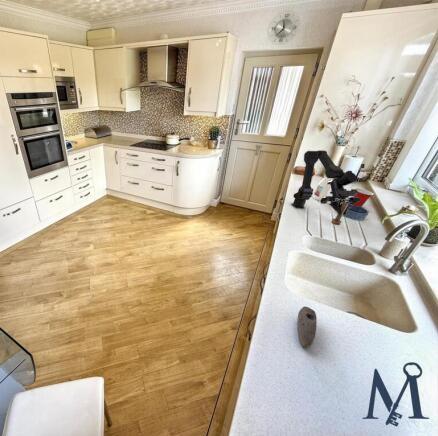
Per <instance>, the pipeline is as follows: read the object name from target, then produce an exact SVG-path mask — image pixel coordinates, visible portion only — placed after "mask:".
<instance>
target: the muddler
mask: <svg viewBox="0 0 438 436" xmlns="http://www.w3.org/2000/svg"><path fill="white" fill-rule="evenodd" d="M347 206H348V203H343V205H342V207H341V215H339V214H338V213H336V217H335V218H332V219H331V221H330V223H331V224H332V225H335V226H341V224H342V222H343V221H342V220H341V219H342V217H343V216H344V215H343V213H344V211H345V210H346V208H347Z"/></svg>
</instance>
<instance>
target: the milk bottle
mask: <svg viewBox="0 0 438 436" xmlns="http://www.w3.org/2000/svg"><path fill="white" fill-rule="evenodd" d="M329 180H332V178H327V177H326V174H325V173H324V177H323V178H322V180H320V181H319V183H318V184H317V185H316V186H317V187H316V188H315V191H314V192H313V195H312V198H313V199H314V200H317V201H320V200H321V199H322V198H324V197H326V196H328V193H329V190H330V189H331V186H330V184H327V183H328V182H329Z"/></svg>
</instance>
